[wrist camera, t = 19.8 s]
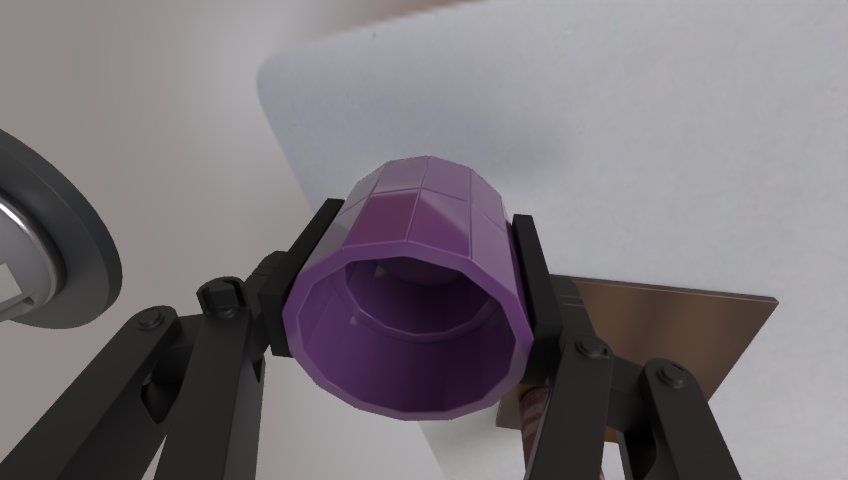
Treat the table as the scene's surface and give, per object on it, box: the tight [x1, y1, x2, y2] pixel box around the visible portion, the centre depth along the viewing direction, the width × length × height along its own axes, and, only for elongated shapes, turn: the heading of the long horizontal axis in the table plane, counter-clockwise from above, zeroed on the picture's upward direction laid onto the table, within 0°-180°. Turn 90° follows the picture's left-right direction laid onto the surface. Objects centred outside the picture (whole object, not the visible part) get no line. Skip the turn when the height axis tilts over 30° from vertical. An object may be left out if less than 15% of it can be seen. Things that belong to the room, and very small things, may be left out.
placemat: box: [496, 274, 779, 443], centre depth 34 cm, size 18×20×1 cm
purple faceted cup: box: [282, 156, 534, 421], centre depth 14 cm, size 7×8×7 cm
